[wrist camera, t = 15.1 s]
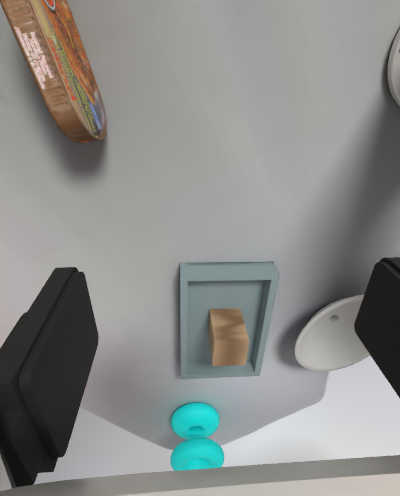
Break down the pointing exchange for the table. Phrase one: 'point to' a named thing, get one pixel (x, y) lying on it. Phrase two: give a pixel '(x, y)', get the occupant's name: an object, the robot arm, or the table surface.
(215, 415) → the donuts
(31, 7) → the tin
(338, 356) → the dish
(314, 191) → the table surface
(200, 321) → the tray
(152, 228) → the table surface
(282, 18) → the table surface
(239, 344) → the block
